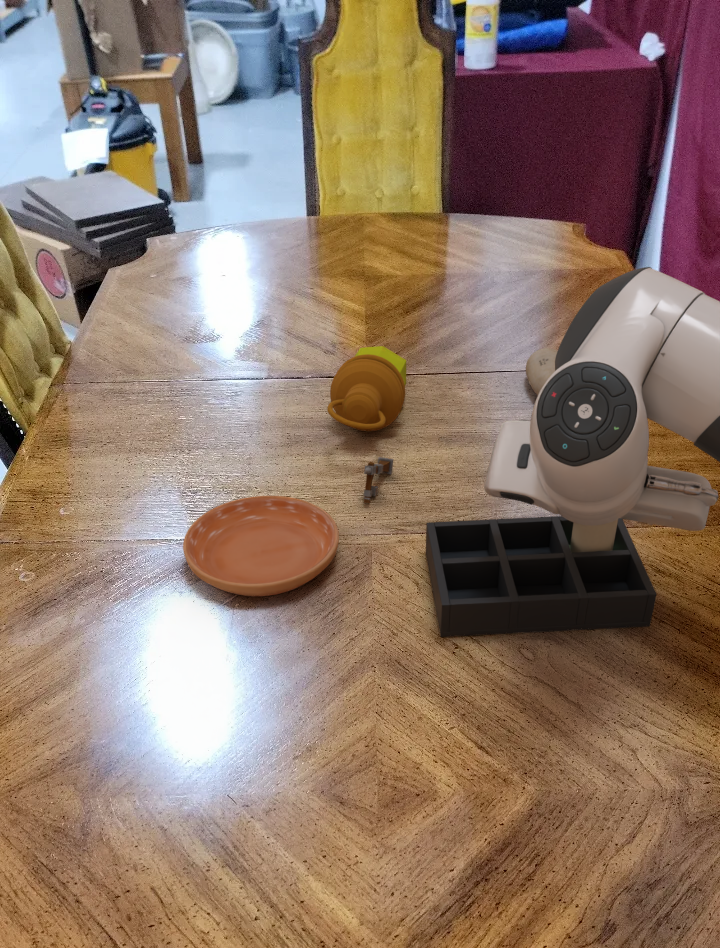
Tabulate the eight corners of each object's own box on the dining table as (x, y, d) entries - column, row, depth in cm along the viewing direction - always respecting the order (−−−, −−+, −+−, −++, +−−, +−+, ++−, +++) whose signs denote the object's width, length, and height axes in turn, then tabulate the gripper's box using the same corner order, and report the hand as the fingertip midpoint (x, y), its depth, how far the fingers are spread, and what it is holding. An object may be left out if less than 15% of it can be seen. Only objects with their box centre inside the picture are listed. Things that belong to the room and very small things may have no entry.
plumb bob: (345, 379, 136) (306, 450, 115) (360, 315, 131) (322, 377, 110) (408, 398, 136) (380, 472, 115) (426, 334, 131) (400, 400, 110)
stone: (545, 401, 123) (510, 338, 129) (550, 433, 128) (516, 371, 135) (589, 382, 123) (552, 320, 129) (592, 415, 128) (556, 354, 134)
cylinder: (604, 547, 103) (617, 471, 97) (614, 571, 99) (628, 494, 94) (564, 549, 103) (575, 473, 97) (573, 573, 99) (584, 497, 93)
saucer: (228, 627, 95) (225, 603, 93) (162, 547, 106) (157, 524, 104) (368, 572, 101) (368, 548, 100) (293, 502, 112) (291, 479, 110)
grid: (614, 544, 104) (620, 513, 102) (650, 626, 94) (657, 594, 92) (425, 553, 104) (426, 522, 101) (440, 637, 94) (441, 605, 91)
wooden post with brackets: (356, 502, 110) (360, 461, 108) (374, 493, 117) (378, 455, 116) (371, 505, 109) (376, 464, 108) (389, 495, 117) (393, 457, 115)
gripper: (728, 454, 81) (714, 494, 94) (485, 417, 87) (504, 460, 100) (712, 528, 81) (700, 558, 94) (469, 486, 86) (490, 520, 100)
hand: (597, 507), depth 97 cm, fingers open, 8 cm apart
